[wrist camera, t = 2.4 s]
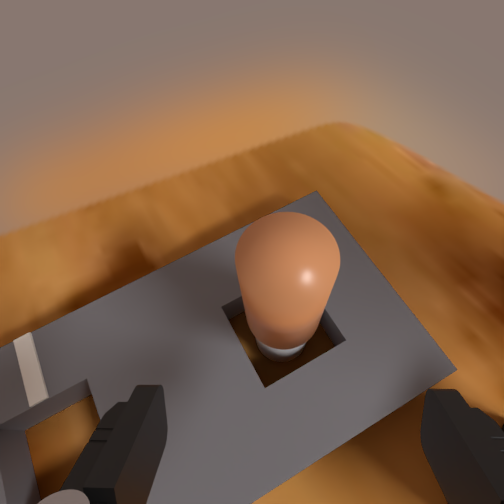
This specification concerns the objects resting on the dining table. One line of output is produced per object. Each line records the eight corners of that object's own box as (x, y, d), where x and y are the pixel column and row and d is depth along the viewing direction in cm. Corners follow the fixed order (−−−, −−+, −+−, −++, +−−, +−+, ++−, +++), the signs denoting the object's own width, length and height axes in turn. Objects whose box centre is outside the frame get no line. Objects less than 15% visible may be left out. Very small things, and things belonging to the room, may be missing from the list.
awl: (291, 297, 26) (303, 196, 16) (323, 347, 25) (361, 273, 14) (240, 324, 26) (217, 239, 15) (269, 378, 24) (267, 326, 13)
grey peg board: (312, 213, 29) (316, 188, 26) (436, 378, 23) (459, 369, 21) (-57, 401, 24) (-101, 395, 21) (-17, 670, 18) (-71, 712, 16)
